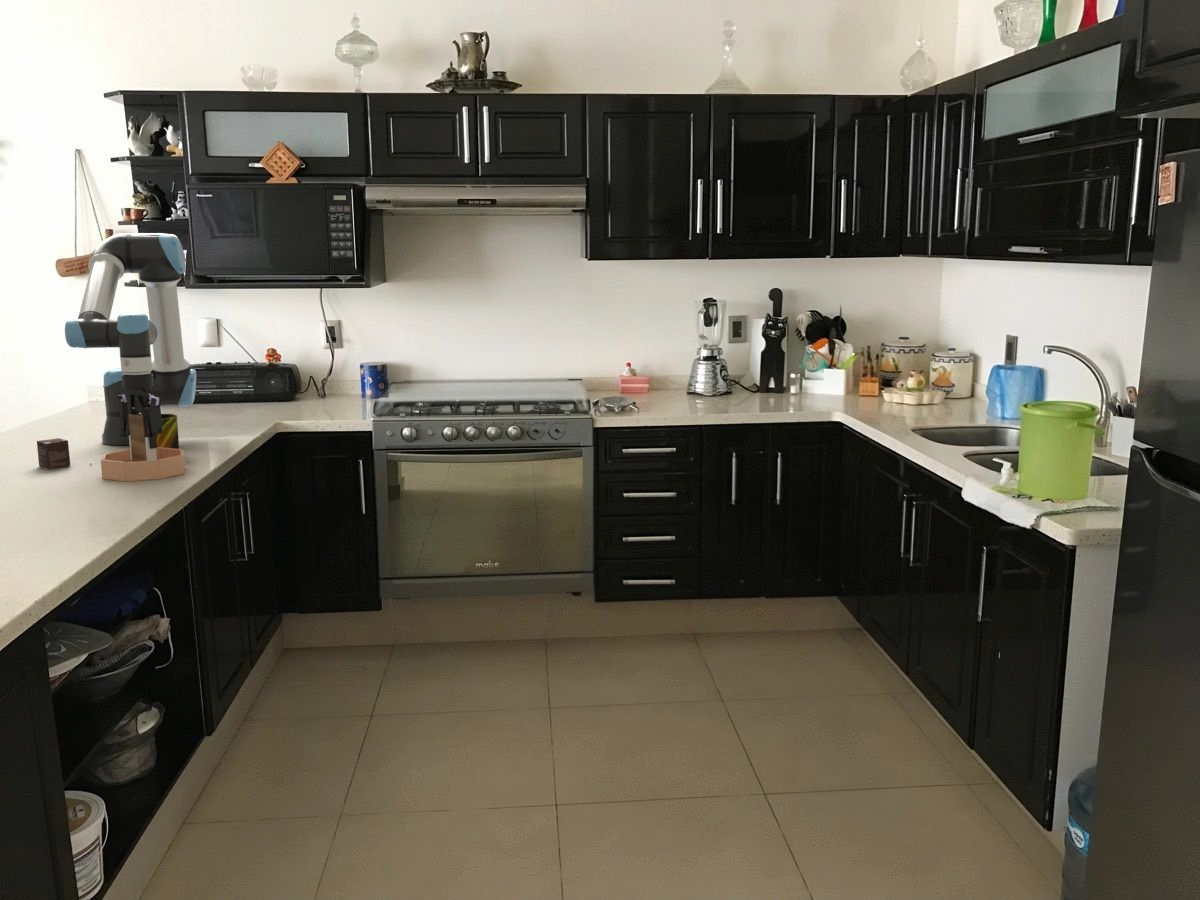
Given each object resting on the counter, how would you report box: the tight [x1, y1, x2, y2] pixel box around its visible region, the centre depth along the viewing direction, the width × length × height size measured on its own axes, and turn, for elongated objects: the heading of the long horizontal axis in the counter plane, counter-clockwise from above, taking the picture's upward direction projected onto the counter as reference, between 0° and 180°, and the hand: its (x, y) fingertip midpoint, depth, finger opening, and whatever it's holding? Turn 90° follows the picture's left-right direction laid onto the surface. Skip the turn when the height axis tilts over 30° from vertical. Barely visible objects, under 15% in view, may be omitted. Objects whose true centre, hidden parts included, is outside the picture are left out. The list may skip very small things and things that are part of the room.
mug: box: [156, 413, 180, 449], centre depth 293 cm, size 10×14×12 cm
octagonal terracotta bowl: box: [100, 447, 186, 482], centre depth 272 cm, size 20×20×5 cm
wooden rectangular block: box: [128, 413, 152, 461], centre depth 271 cm, size 3×5×14 cm, turn 67°
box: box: [36, 437, 71, 470], centre depth 280 cm, size 6×6×7 cm
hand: (143, 459), depth 272 cm, fingers closed on wooden rectangular block, 5 cm apart
